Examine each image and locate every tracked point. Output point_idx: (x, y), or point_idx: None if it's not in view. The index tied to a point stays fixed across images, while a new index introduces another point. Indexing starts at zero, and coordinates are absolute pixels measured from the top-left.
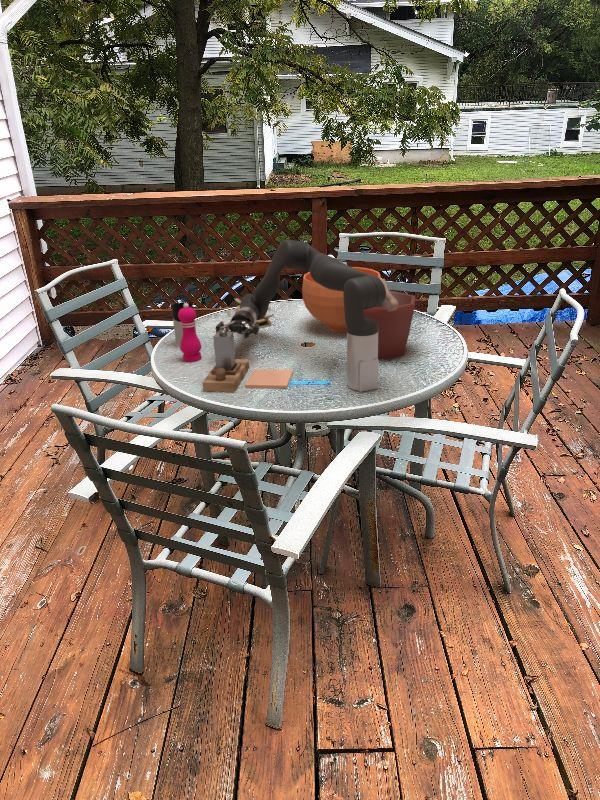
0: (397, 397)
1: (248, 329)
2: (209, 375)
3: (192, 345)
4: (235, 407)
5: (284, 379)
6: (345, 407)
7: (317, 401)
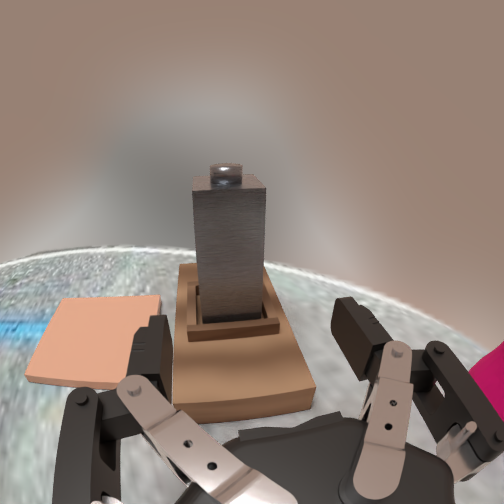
0: None
1: (142, 372)
2: (265, 282)
3: (473, 368)
4: (167, 250)
5: (60, 322)
6: (8, 265)
7: (32, 274)
